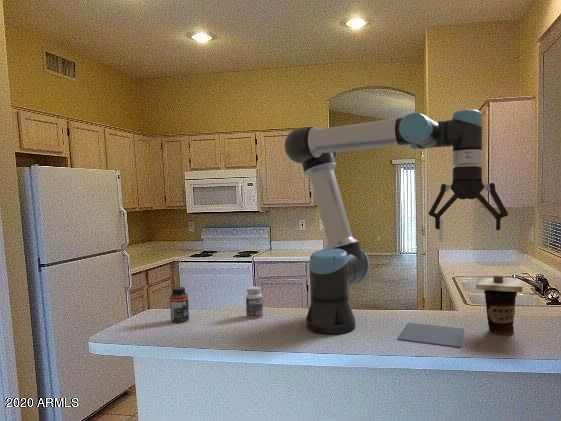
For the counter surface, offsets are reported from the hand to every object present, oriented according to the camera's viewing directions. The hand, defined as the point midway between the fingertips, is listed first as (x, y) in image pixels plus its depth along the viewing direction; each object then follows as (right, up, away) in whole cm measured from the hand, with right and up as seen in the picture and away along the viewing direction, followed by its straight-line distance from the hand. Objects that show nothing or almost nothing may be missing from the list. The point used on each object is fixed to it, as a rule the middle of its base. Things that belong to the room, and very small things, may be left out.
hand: (466, 241), depth 114 cm
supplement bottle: (-87, -29, +22) cm, 94 cm away
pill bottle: (-62, -28, +24) cm, 72 cm away
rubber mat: (-10, -26, 0) cm, 28 cm away
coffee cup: (+10, -26, 0) cm, 28 cm away
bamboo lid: (+9, -13, 0) cm, 16 cm away
